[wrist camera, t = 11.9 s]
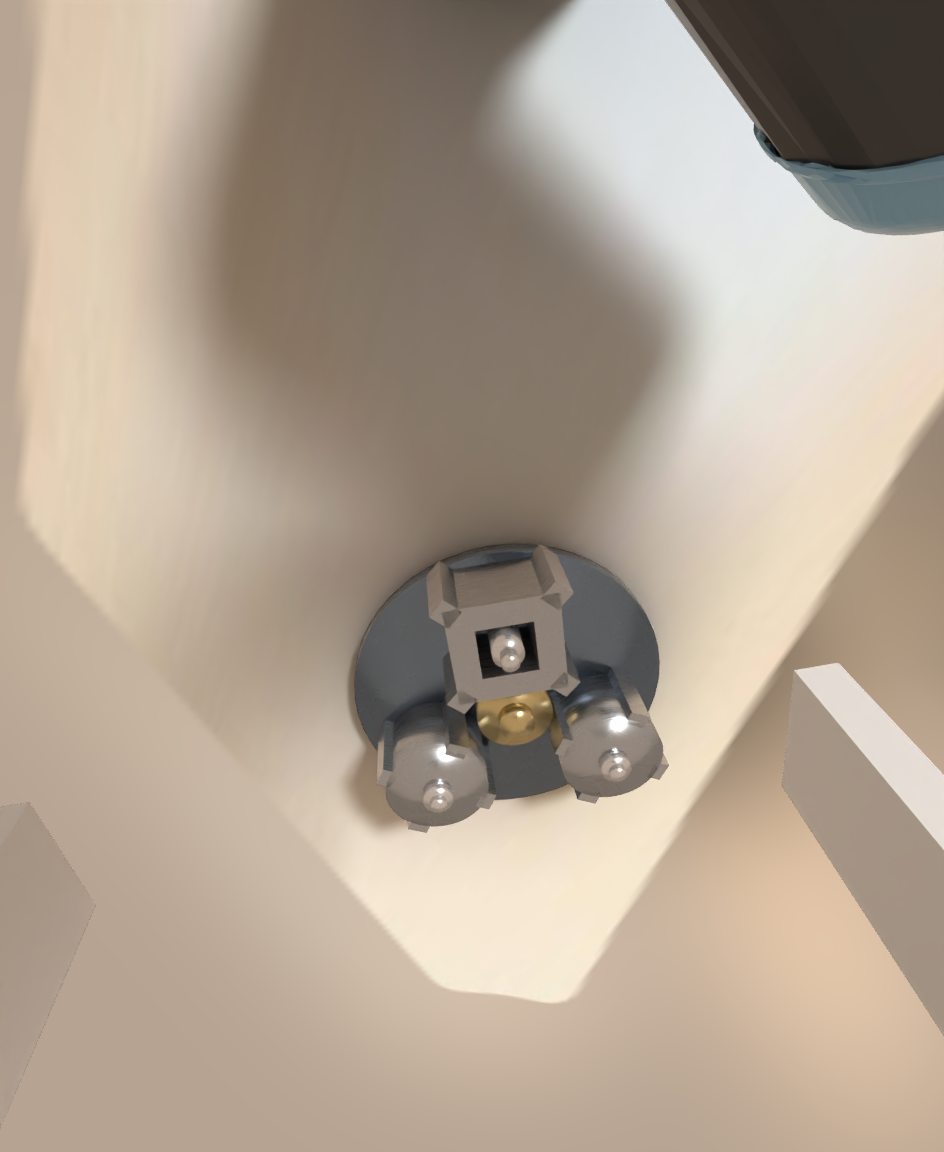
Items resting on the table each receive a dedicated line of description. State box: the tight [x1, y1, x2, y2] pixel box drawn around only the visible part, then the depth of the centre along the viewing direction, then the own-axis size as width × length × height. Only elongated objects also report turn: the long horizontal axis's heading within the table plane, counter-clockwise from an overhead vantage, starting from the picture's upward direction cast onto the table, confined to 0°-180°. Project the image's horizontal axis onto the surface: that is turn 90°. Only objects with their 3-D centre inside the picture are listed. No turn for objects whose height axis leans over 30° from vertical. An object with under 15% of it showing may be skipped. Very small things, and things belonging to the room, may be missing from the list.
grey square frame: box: [426, 544, 580, 714], centre depth 44 cm, size 9×9×5 cm
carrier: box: [355, 544, 669, 833], centre depth 48 cm, size 22×22×8 cm
